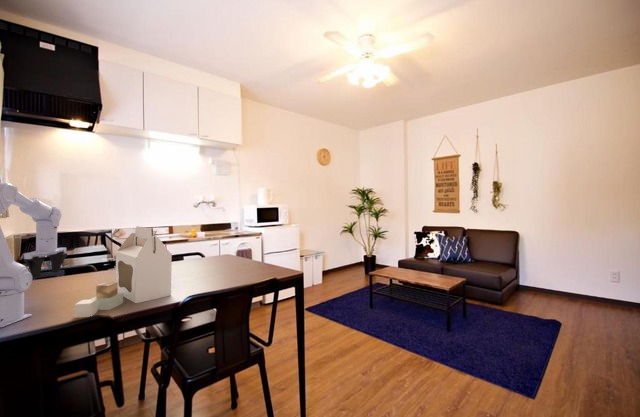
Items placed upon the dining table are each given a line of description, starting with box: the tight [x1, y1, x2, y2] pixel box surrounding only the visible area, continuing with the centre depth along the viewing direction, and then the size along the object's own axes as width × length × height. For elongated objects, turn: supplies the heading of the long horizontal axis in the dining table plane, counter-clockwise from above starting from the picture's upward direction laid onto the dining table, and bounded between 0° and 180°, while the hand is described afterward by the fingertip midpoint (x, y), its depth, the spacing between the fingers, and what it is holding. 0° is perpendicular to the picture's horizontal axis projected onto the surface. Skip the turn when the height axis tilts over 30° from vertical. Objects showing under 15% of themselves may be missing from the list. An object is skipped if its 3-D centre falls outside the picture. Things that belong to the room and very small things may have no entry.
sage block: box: [90, 293, 124, 311], centre depth 104 cm, size 7×7×4 cm
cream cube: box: [74, 298, 98, 319], centre depth 96 cm, size 4×4×4 cm
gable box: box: [115, 225, 173, 304], centre depth 119 cm, size 22×13×28 cm, turn 52°
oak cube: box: [95, 281, 118, 298], centre depth 104 cm, size 4×4×4 cm
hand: (46, 274), depth 107 cm, fingers open, 7 cm apart
